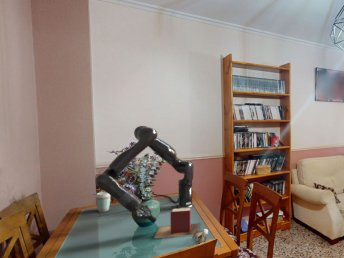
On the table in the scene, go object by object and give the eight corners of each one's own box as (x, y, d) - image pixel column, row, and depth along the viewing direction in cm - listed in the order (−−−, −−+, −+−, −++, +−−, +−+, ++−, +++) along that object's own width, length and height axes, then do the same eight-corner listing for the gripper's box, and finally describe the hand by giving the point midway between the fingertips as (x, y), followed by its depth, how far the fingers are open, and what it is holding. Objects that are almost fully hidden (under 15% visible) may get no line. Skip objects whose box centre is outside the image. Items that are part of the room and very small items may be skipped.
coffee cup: (113, 209, 174) (113, 192, 173) (99, 213, 166) (98, 195, 166) (107, 207, 178) (107, 190, 178) (93, 210, 171) (93, 193, 170)
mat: (153, 238, 134) (153, 238, 134) (159, 227, 148) (159, 227, 148) (197, 234, 140) (197, 233, 140) (199, 224, 153) (199, 223, 153)
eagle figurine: (191, 236, 136) (188, 241, 127) (199, 224, 137) (196, 228, 128) (203, 243, 136) (201, 248, 128) (211, 231, 138) (209, 235, 129)
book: (170, 233, 140) (170, 212, 139) (172, 229, 145) (172, 208, 144) (189, 231, 143) (189, 210, 142) (190, 227, 147) (190, 207, 147)
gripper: (130, 199, 130) (157, 220, 134) (138, 192, 143) (162, 211, 147) (119, 210, 129) (146, 231, 133) (128, 202, 142) (152, 221, 146)
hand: (154, 220), depth 140 cm, fingers closed
